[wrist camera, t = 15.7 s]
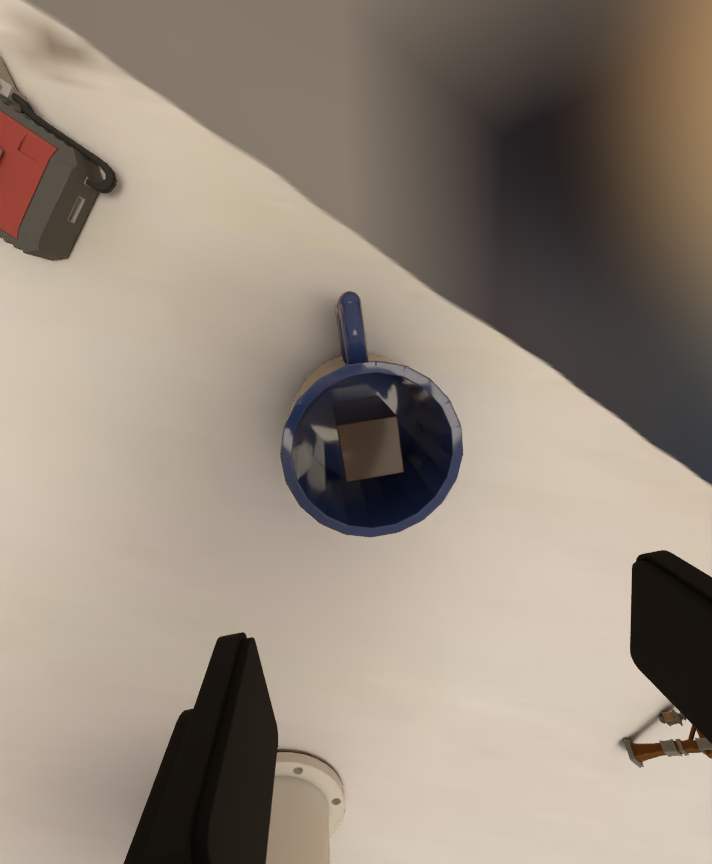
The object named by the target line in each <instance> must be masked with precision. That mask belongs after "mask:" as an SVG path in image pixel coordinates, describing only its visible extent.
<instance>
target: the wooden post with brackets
mask: <svg viewBox="0 0 712 864" xmlns="http://www.w3.org/2000/svg"><path fill="white" fill-rule="evenodd" d="M671 710H672V711H671V712H661V713H662V715H663V716H660V717H659V720H660V721H661V722H662V723H667V724H668V725H669V726H671V725H674V724H678V723H679V724H681V725H682V726H683V724H682V720H683V719H684V720H686V717H685V716H684V715H683V714H682V713H681V712H680V714H679V713H676V712H675V711H674V710H673V709H671ZM696 730H697V732H698V735H699V737H700V738H695V740H693V739H694V735H695V732H696ZM624 742H625V745H626V748H627V751H628V755H629V758H630V760H631V761H632V762H633V763H635V764H636V765H637V766H638V767H640V768H641V767H644V766H643V763H642V762H643V761H646V760H648V759H652V758H655V757H658V756H663V755H668V756H669V757H671V756H682V754H684V755H685V756H686V755H689V754H688V753H699V752H702V753H703V754H706V755H707V756H708V757H709V758H712V744H711V743H710V742H709V741H708V740H707V739H706V738H705V737H704V736H703V735H702V734H701V733H700V732H699V730H698V729H697V728H696V727H695V726H694V725H693V724H692V728H691V731H690V735H689V739H688V740H685V741H681V740H680V739H676V741H674V740H672V739H671V740H667V741H660V743H654V744H635V743H632V742H631V741H630V740H628V739H624Z"/></svg>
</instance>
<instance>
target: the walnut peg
mask: <svg viewBox="0 0 712 864" xmlns="http://www.w3.org/2000/svg"><path fill="white" fill-rule="evenodd" d="M333 408H334V414H335V420H336V426H337V432H338V438H339V444H340V450H341V456H342V462H343V468H344V474H345V480H346V482H351V481H357V480H363V479H368V478H374V477H380V476H386V475H392V474H398V473H403V472H404V466H403V457H402V449H401V441H400V432H399V424H398V417H397V415H396V414H395V413H394V412H393V411H392V410H391V409H390V408H389V407H388V405H387V404H386V403H385V402H384V401H383V400H382V399H381V398H380V397H379V396H375V397H369V398H363V399H357V400H350V401H344V402H338V403H333Z"/></svg>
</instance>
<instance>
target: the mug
mask: <svg viewBox="0 0 712 864" xmlns="http://www.w3.org/2000/svg"><path fill="white" fill-rule="evenodd" d="M335 313H336V319H337V326H338V332H339V339H340V345H341V352H342V356H339V357H336V358H333V359H331V360H329V361H327V362H325V363H324V364H322V365H320V366H319V367H318V368H317V369H316V370H314V371H313V372H312V373H311V374H310V375H309V377H308V378H307V379H306V380H305V381H304V382H303V384H302V386H301V388H300V390H299V392H298V394H297V396H296V398H295V400H294V402H293V405H292V408H291V410H290V413H289V415H288V418H287V420H286V423H285V426H284V429H283V437H282V445H281V452H280V455H281V456H280V457H281V462H282V467H283V472H284V476H285V481H286V484H287V485H288V487H289V489H290V490H291V492H292V494H293V496H294V497H295V499H296V501H297V502H298V504H299V505H300V506H301V508H303V509H304V510H305V511H306V512H307V513H308V514H310V515H311V516H312V517H313V518H314V519H315V520H316V521H318V522H319V523H321V524H322V525H324V526H327V527H329V528H331V529H334V530H336V531H338V532H341V533H343V534H346V535H355V536H364V537H376V536H381V535H387V534H392V533H397V532H400V531H402V530H404V529H406V528H408V527H410V526H412V525H415V524H417V523H419V522H421V521H422V520H424V519H425V518H426V517H427V516H428V515H429V514H430V513H432V512H433V511H434V510H435V509H436V508H437V507H438V506H439V505H440V504H441V503H442V502H443V501H444V499H445V498H446V496H447V494H448V493H449V491H450V489H451V488H452V486H453V484H454V483H455V481H456V479H457V476H458V472H459V468H460V464H461V460H462V456H463V444H462V431H461V426H460V425H461V424H460V422H459V420H458V417H457V415H456V413H455V410H454V408H453V406H452V403H451V401H450V400H449V398H448V397H447V396H446V395H445V394H444V393H443V392H442V391H441V390H440V388H439V387H438V386H437V385H436V384H435V383H434V382H433V381H432V380H430V378H428V377H426V376H424V375H422V374H420V373H419V372H417V371H415V370H413V369H411V368H409V367H408V366H405V365H403V364H400V363H397V362H395V361H392V360H390V359H387V358H384V357H382V356H376V355H371V354H368V351H367V343H366V336H365V329H364V321H363V314H362V306H361V300H360V297H359V296H358V295H357V294H356V293H355V292H352V291H347V292H344V293H343V294H342V295H341V296H340V297H339V299H338V301H337V303H336V305H335ZM375 396H379V397H380V398H381V399H382V400H383V401H384V402H385V403H386V404H387V405H388V407H389V408H390V409H391V410H392V411H393V412H394V413H395V414H396V415H397V417H398V424H399V432H400V441H401V449H402V457H403V466H404V472H403V473H398V474H392V475H386V476H380V477H374V478H368V479H363V480H357V481H351V482H346V480H345V474H344V468H343V462H342V456H341V450H340V444H339V438H338V432H337V426H336V420H335V414H334V408H333V403H338V402H344V401H350V400H357V399H363V398H369V397H375Z"/></svg>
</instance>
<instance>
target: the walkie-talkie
mask: <svg viewBox="0 0 712 864" xmlns="http://www.w3.org/2000/svg"><path fill="white" fill-rule="evenodd" d="M26 100H27V98H26V97H25V96H24V95H22V94H21V93H20V92H19V91H17V89H16V87H15V85H14V83H13V81H12V79H11V77H10V75H9V73H8V71H7V69H6V67H5V65H4V63H3V61H2V60H1V58H0V238H3V239H4V241H5V242H7V243H11V244H13V245H14V247H15V248H18V249H21V250H23V252H24V253H26V254H30V255H34V256H37V257H41V258H45V259H48V260H52V261H53V260H59V259H65V258H67V257H68V255H69V253H70V250H71V248H72V246H73V244H74V242H75V240H76V238H77V236H78V234H79V232H80V229H81V227H82V225H83V223H84V221H85V219H86V217H87V215H88V213H89V211H90V208H91V206H92V204H93V202H94V200H95V198H96V196H97V194H98V192H102V193H108V192H111V191H112V190H113V188H114V187H115V186H116V183H117V179H116V175H115V173H114V171H113V170H112V169H111V168H110V167H109V166H108V164H107V163H105V162H104V161H103V160H102V159H100V158H99V157H97V156H96V155H94V154H93V153H91V152H90V151H88V150H87V149H85V148H84V147H82V146H81V145H79V144H78V143H76V142H75V141H73V140H72V139H70V138H69V137H67V136H66V135H65V134H63V133H62V132H60V131H59V130H57V129H56V128H54V127H53V126H51V125H50V124H48V123H47V122H46V121H44V120H43V119H41V118H40V117H39V116H37V115H36V113H35V112H34V111H33V109H32V108H31V106H30V105H29V104H28V103H27V102H26ZM21 108H22V110H23V111H24V113H25V114H26V115H27V116H28V117H29V118H30V119H29V118H28V117H27V116H25V115H24V114H22V113H20V111H21ZM31 119H32V120H31ZM90 160H91V161H90ZM93 162H94V163H95V164H94V163H93ZM96 164H97V165H98V166H100V167H101V168H102V169H103V171H104V172H105V174H106V179H105V180H104V181H102V178H101V175H100V173H99V170H98V167H97V165H96Z"/></svg>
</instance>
